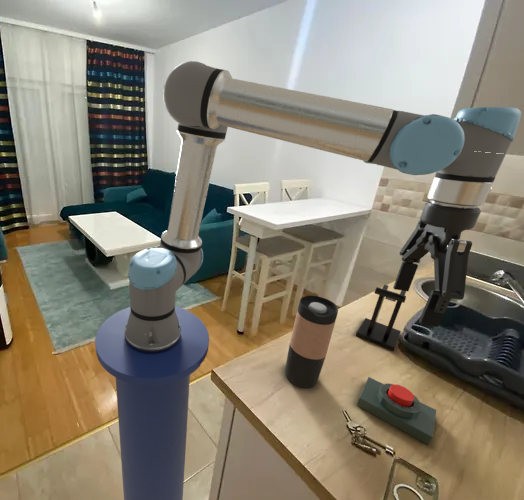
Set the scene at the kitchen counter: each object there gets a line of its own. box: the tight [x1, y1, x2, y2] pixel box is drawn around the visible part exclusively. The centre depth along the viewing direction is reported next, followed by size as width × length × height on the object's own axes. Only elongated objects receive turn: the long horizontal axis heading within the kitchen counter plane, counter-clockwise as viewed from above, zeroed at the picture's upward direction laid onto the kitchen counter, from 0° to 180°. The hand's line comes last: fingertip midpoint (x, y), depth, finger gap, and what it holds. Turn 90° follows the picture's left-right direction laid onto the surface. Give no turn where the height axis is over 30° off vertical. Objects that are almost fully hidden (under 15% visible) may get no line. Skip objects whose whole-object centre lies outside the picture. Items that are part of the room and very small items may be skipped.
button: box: [388, 384, 415, 407], centre depth 59 cm, size 4×4×2 cm
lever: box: [374, 286, 407, 304], centre depth 75 cm, size 13×6×2 cm, turn 136°
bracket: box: [355, 284, 407, 352], centre depth 81 cm, size 10×9×15 cm
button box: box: [356, 376, 437, 445], centre depth 60 cm, size 12×8×4 cm, turn 46°
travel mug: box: [284, 295, 339, 389], centre depth 65 cm, size 8×8×20 cm
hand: (412, 305), depth 59 cm, fingers open, 13 cm apart
